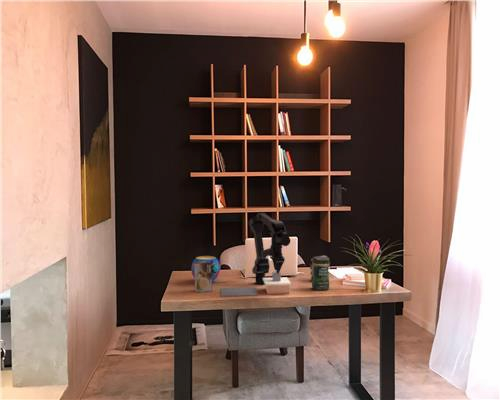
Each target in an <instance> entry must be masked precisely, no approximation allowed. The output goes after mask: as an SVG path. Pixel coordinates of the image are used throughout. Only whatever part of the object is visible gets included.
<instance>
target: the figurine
mask: <svg viewBox="0 0 500 400" xmlns="http://www.w3.org/2000/svg"><path fill="white" fill-rule="evenodd" d="M325 256H326V257H328V256H327V255H325ZM310 261H311V262H313V257H312V258H311V259H310ZM309 270H311V271H310V276H311V277H310V279H311V280H313V270H314V268H313V264H312V263H311V264H310V267H309ZM328 274H330V271H328Z"/></svg>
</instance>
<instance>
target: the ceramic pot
mask: <svg viewBox="0 0 500 400" xmlns="http://www.w3.org/2000/svg"><path fill="white" fill-rule="evenodd" d="M200 261H210V262H212V282H214V281H215V280H217V278H218V276H219V275H220V271H221V264H220V261H219V260H218V258H217V257H216V256H211V255H202V256H201V255H200V256H196V257H195V259H194V260H193V261H192V264H191V275H192V276H193V278H194V279H195V267H194V262H200Z"/></svg>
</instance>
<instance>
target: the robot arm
mask: <svg viewBox="0 0 500 400" xmlns="http://www.w3.org/2000/svg"><path fill="white" fill-rule="evenodd" d="M248 225H249V228H250V231H251V232H252V234H253V238H254V247H255V256H256V257H255V260H254V265H253V268H252V270H251V272H252V274H254V275H255V282H253V283H252V284H253V285H260V286H265V284H264V281H263V278H266V274H269V272H270V262H269V258H270V260H272V264H273V270H274V271H275V272H277V274H278V273H279V272H280V273H281V269H282V267H283V265H284V263H285V261H286V260H285V259H286V258H285V257H284V256H283V253H282V252H283V246H284V247H287V246H289V245H290V243H291V238H290V236H289V235H288V232H287V229H286V227H285V223H284V222H283V221H282V220H279V219H274V218H272V217H271V216H269V215H267V214H266V213H265V212H258V213H257V214H256V215H255V216H253V217H251V218H250V220H249V221H248ZM264 225H266V226H267V227H268V230H269V231H270V233H269V235H270V237H271V242H270V243H271V244H270V247H269V248H268V247H267V248H266V249H265V248H264V240H263V234H262V232H263V230H264ZM267 257H269V258H267Z"/></svg>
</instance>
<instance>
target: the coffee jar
mask: <svg viewBox="0 0 500 400" xmlns="http://www.w3.org/2000/svg"><path fill="white" fill-rule="evenodd" d="M326 256H327V255H319V256H318V255H317V256H313V257H312V258H313V262H312V261H311V262H312V263H311V264H312V265H313V268H314V270H313V280H312V279H311V280H312V281H311V288H312V289H313V290H316V291H328V290H329V289H330V277H329V274H330V273H329V274H328V272H329V267H330V264H331V263H330V257H328V256H327V257H326Z"/></svg>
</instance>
